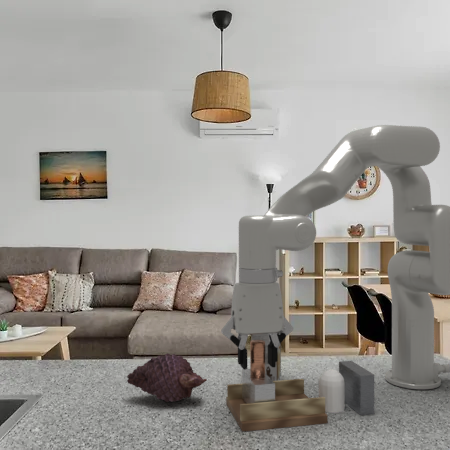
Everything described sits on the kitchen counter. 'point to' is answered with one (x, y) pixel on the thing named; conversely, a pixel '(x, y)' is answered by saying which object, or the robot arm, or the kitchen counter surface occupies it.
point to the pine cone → (166, 378)
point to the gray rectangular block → (358, 387)
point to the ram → (257, 377)
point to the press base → (277, 407)
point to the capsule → (332, 390)
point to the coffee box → (270, 371)
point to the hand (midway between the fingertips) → (257, 365)
